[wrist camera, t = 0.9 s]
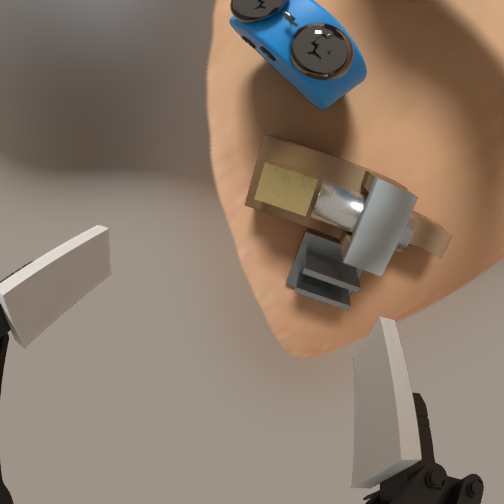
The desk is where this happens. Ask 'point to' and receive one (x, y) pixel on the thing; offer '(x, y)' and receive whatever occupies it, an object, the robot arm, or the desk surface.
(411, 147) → the desk surface
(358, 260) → the beam
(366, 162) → the desk surface
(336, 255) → the grey slotted plate stand
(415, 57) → the desk surface
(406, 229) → the axle
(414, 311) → the desk surface
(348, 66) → the alarm clock
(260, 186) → the tan rectangular block
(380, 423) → the robot arm
